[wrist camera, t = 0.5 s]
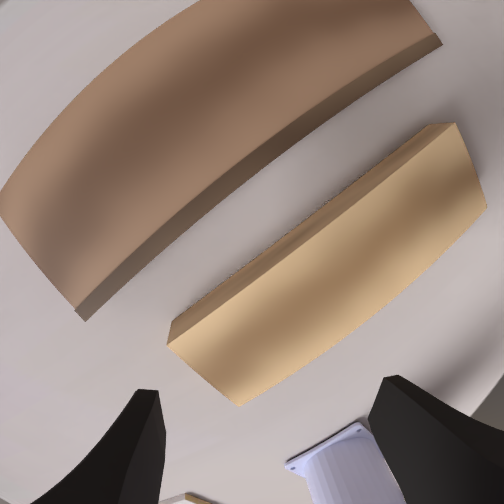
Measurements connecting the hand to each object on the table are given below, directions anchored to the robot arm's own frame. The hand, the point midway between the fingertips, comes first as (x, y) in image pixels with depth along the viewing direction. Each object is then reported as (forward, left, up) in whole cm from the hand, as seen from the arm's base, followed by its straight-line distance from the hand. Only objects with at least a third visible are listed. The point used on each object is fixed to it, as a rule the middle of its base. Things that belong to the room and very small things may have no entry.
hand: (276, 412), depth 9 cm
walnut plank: (+9, -6, -9) cm, 14 cm away
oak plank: (-2, -6, -10) cm, 11 cm away
